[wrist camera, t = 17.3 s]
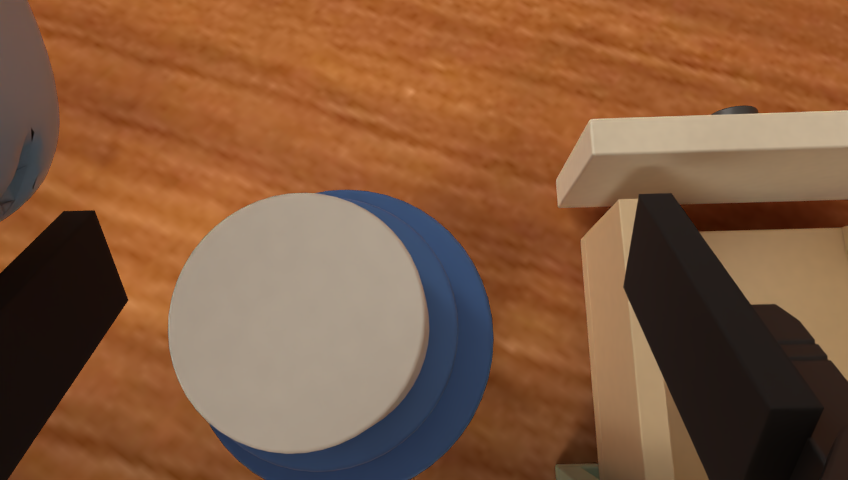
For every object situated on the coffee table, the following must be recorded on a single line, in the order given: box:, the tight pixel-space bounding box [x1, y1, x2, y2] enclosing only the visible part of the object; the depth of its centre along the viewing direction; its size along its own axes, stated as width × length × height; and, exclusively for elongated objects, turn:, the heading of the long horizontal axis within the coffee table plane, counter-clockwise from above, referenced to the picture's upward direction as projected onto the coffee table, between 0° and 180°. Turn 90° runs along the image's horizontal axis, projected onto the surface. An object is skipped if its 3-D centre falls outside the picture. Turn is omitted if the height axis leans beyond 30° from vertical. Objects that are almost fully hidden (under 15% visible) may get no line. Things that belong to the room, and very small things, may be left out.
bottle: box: [168, 190, 493, 480], centre depth 15 cm, size 5×5×17 cm
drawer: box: [556, 106, 848, 480], centre depth 20 cm, size 14×11×6 cm
